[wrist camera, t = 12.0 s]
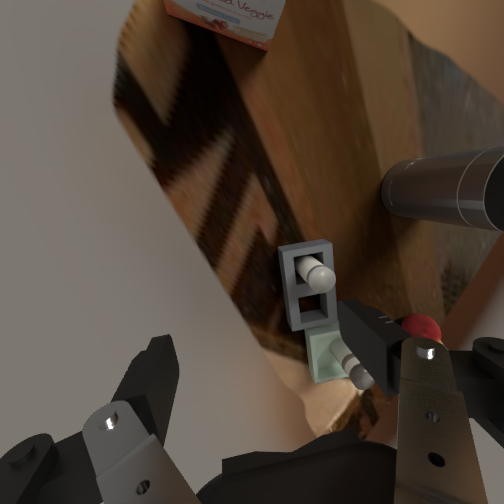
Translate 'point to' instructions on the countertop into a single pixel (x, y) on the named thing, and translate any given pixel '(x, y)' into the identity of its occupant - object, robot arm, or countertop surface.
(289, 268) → the block
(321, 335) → the parts tray
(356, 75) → the countertop surface
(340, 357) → the cylinder
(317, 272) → the ball
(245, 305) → the countertop surface
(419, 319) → the onion
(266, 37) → the cracker box
